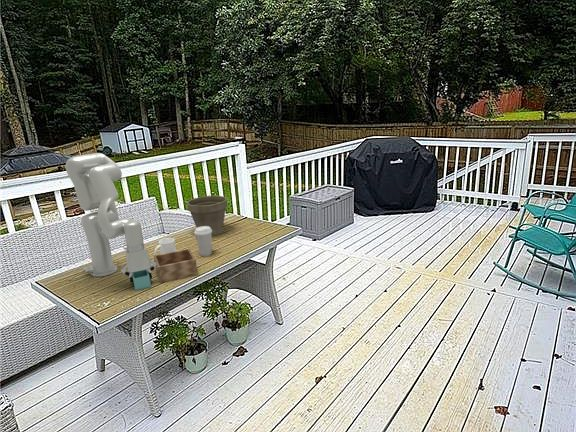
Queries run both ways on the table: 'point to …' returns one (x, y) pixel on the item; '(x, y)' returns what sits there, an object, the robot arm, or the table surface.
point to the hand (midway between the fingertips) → (141, 281)
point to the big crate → (175, 265)
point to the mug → (166, 246)
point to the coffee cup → (204, 240)
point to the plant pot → (208, 212)
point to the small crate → (141, 280)
